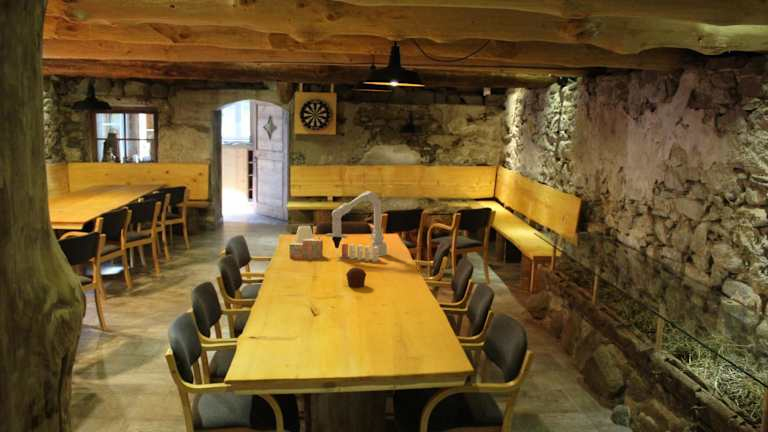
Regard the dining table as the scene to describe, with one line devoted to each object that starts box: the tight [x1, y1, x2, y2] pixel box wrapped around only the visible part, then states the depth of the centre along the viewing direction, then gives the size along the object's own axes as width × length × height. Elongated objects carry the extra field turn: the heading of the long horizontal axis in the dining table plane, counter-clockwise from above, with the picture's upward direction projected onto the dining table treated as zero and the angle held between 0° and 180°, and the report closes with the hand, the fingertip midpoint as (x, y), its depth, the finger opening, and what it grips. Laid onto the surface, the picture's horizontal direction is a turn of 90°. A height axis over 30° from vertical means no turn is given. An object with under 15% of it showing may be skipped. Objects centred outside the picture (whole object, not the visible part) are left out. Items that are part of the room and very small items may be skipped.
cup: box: [294, 225, 315, 243], centre depth 440 cm, size 13×13×14 cm
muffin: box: [345, 267, 367, 289], centre depth 338 cm, size 12×11×10 cm
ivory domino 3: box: [364, 245, 372, 262], centre depth 396 cm, size 2×5×9 cm, turn 158°
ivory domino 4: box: [372, 246, 379, 263], centre depth 394 cm, size 2×5×9 cm, turn 157°
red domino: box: [341, 242, 349, 258], centre depth 402 cm, size 2×5×9 cm, turn 158°
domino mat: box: [337, 255, 380, 263], centre depth 399 cm, size 28×8×1 cm, turn 67°
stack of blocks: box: [288, 238, 324, 260], centre depth 404 cm, size 21×6×12 cm, turn 86°
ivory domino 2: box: [356, 244, 364, 261], centre depth 398 cm, size 2×5×9 cm, turn 157°
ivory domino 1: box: [348, 243, 356, 259], centre depth 400 cm, size 2×5×9 cm, turn 157°
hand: (337, 248), depth 404 cm, fingers closed
